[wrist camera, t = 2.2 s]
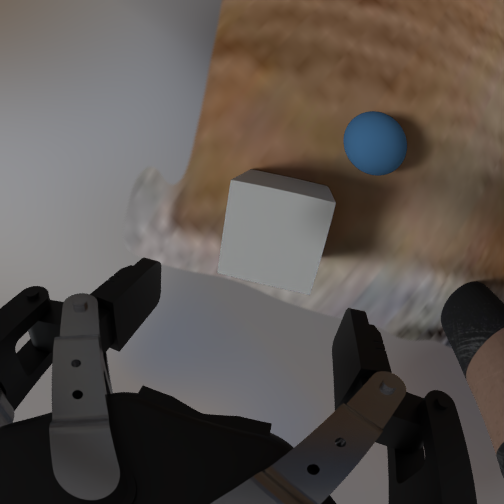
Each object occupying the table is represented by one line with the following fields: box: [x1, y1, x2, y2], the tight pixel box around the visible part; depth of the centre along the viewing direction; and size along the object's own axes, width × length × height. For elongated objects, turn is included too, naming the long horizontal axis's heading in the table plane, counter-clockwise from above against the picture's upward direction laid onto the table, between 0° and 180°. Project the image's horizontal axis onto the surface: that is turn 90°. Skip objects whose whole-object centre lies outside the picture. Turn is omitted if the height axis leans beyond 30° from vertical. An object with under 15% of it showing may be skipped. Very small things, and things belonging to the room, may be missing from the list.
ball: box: [344, 111, 407, 175], centre depth 19 cm, size 5×5×5 cm
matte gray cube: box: [217, 169, 336, 295], centre depth 22 cm, size 7×7×7 cm
